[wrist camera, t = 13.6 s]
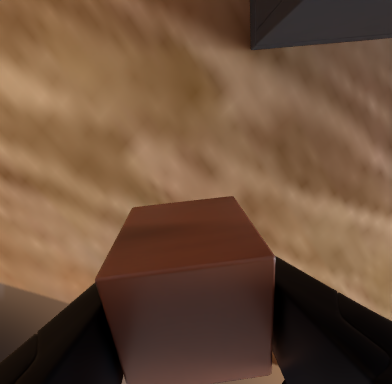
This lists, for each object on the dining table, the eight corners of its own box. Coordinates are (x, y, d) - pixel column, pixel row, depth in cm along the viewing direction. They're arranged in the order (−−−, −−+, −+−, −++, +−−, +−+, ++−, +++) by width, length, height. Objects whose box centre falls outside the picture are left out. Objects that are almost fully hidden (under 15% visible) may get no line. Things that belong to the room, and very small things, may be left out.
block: (236, 276, 10) (272, 376, 6) (149, 288, 10) (129, 398, 6) (233, 195, 8) (277, 256, 5) (132, 206, 8) (92, 280, 5)
